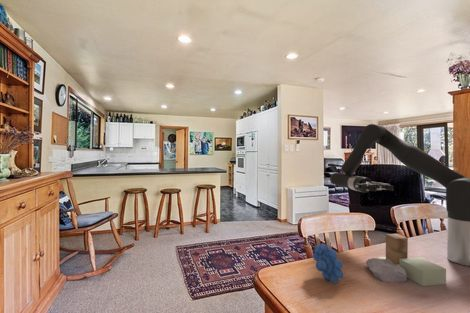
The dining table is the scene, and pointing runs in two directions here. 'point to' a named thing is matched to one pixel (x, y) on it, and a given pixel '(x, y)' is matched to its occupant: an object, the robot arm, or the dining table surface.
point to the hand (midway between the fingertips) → (384, 188)
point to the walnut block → (396, 248)
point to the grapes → (328, 263)
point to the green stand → (423, 271)
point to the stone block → (386, 270)
